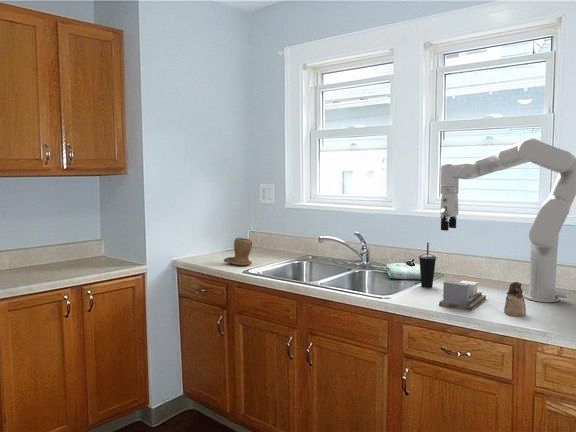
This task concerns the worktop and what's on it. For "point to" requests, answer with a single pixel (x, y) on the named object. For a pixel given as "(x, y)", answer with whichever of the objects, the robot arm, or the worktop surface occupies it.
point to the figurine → (515, 301)
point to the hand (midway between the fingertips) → (448, 229)
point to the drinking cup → (427, 269)
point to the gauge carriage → (471, 287)
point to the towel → (403, 271)
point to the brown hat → (241, 252)
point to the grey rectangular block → (456, 293)
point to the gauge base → (473, 302)
